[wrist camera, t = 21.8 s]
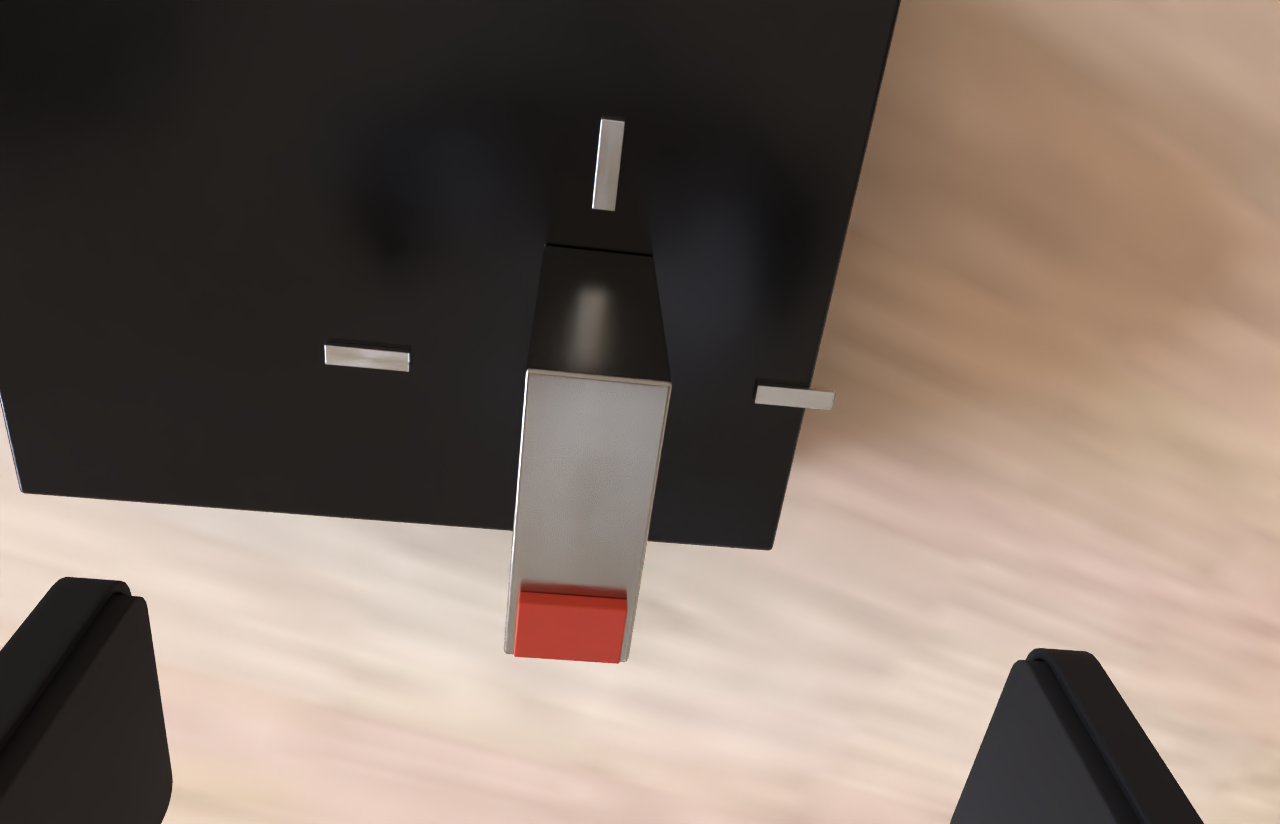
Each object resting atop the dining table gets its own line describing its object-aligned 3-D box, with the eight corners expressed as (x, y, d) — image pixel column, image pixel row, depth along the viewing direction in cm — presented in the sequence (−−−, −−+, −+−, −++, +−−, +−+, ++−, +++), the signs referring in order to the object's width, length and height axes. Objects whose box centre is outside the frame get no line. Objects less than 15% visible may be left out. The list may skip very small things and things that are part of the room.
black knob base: (891, -79, 16) (951, -70, 13) (761, 504, 22) (785, 595, 19) (-14, -206, 15) (-152, -224, 12) (100, 450, 21) (23, 540, 18)
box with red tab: (543, 244, 16) (524, 378, 11) (654, 256, 16) (674, 392, 12) (524, 482, 18) (501, 667, 14) (621, 490, 18) (628, 675, 14)
